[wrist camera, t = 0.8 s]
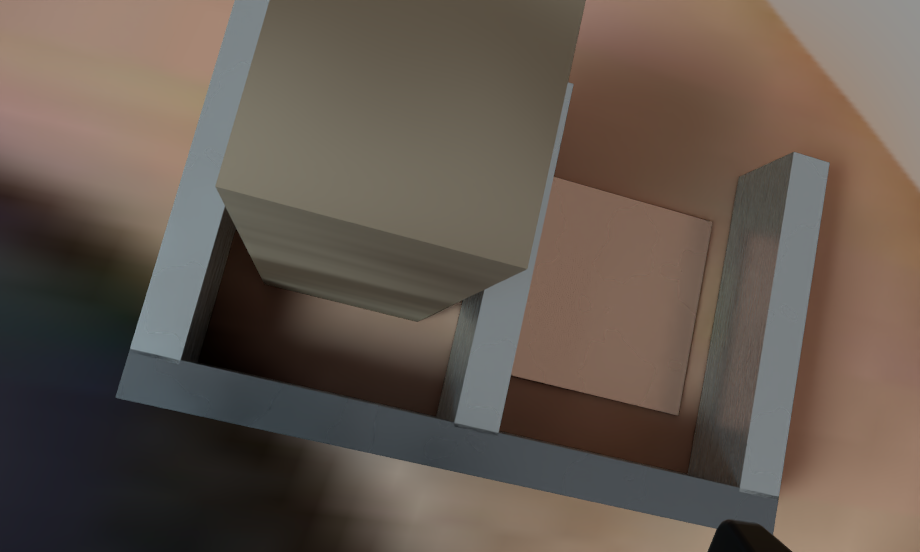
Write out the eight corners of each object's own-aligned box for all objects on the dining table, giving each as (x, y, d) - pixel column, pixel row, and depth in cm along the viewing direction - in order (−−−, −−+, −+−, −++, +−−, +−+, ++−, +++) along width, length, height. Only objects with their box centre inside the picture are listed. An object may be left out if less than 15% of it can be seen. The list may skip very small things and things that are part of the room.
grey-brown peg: (417, 321, 23) (527, 269, 11) (264, 283, 22) (215, 186, 11) (451, 177, 24) (587, -10, 12) (305, 136, 23) (299, -106, 11)
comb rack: (715, 520, 24) (772, 540, 21) (142, 394, 21) (115, 397, 18) (770, 186, 26) (829, 162, 23) (249, 31, 23) (240, -19, 20)
